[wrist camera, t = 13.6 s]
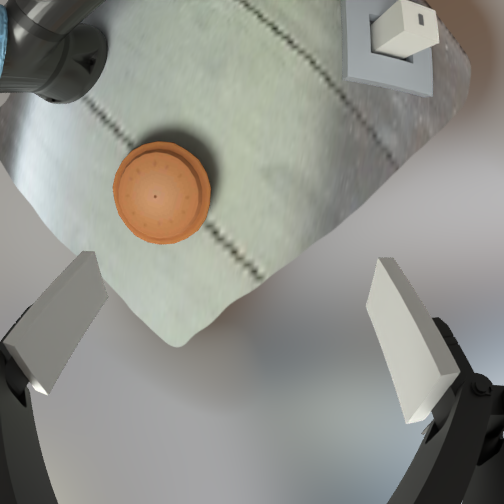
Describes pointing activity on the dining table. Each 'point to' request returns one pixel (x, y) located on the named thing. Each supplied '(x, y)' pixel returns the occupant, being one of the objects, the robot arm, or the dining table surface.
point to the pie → (162, 192)
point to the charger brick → (404, 30)
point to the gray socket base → (374, 65)
